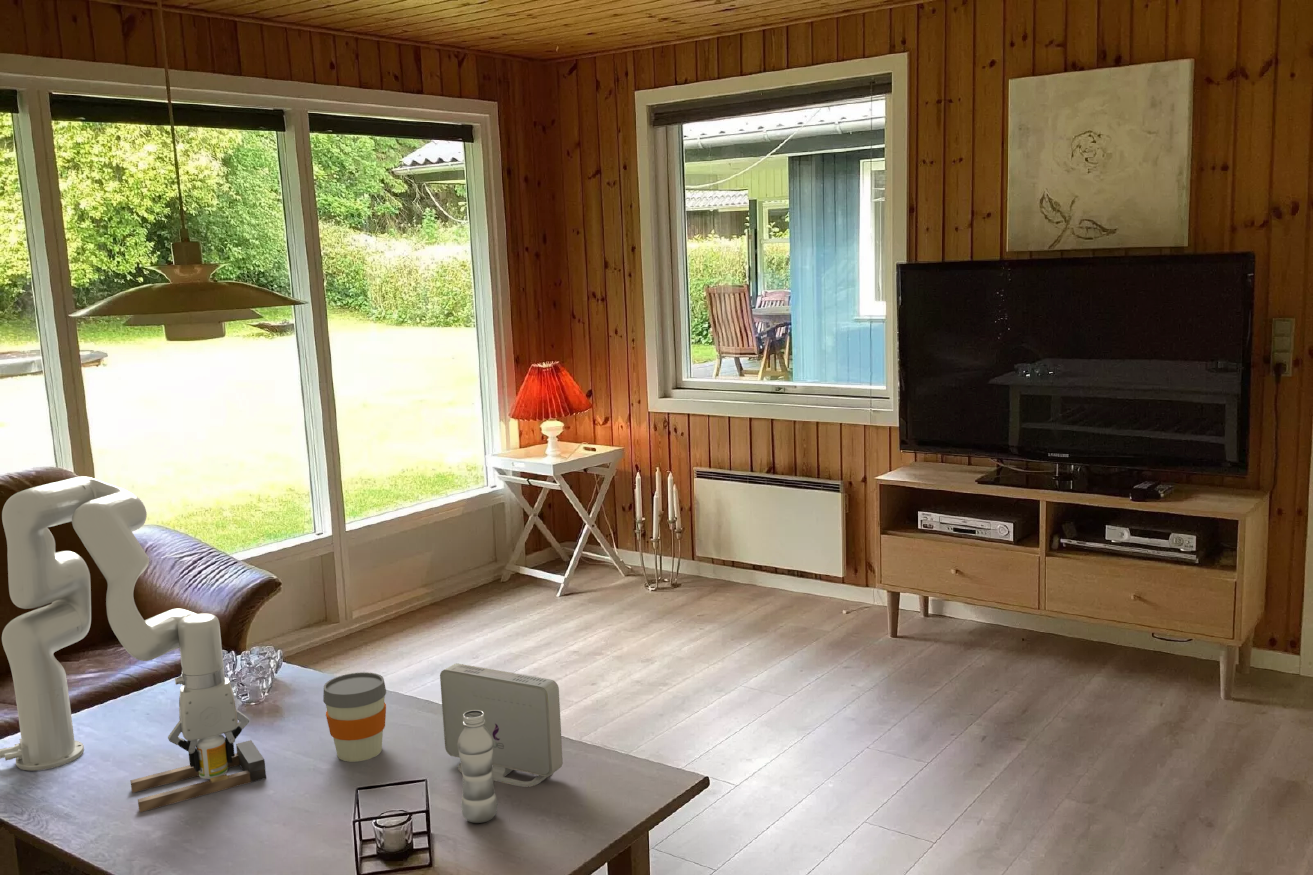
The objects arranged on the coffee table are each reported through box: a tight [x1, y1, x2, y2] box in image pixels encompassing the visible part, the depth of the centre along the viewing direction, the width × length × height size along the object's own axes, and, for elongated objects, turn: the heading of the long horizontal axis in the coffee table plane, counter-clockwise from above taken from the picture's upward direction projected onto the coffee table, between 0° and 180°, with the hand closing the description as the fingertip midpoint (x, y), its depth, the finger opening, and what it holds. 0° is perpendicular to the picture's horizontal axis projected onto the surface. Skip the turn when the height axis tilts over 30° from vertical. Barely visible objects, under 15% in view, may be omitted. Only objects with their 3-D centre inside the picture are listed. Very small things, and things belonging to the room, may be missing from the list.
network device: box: [439, 663, 564, 788], centre depth 219 cm, size 26×9×20 cm, turn 62°
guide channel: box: [130, 739, 267, 813], centre depth 220 cm, size 23×11×4 cm, turn 122°
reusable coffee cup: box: [322, 671, 387, 763], centre depth 231 cm, size 13×13×15 cm
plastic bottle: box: [457, 710, 499, 824], centre depth 201 cm, size 6×7×20 cm
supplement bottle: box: [196, 734, 229, 780], centre depth 221 cm, size 5×5×10 cm
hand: (212, 764), depth 221 cm, fingers closed on supplement bottle, 5 cm apart
